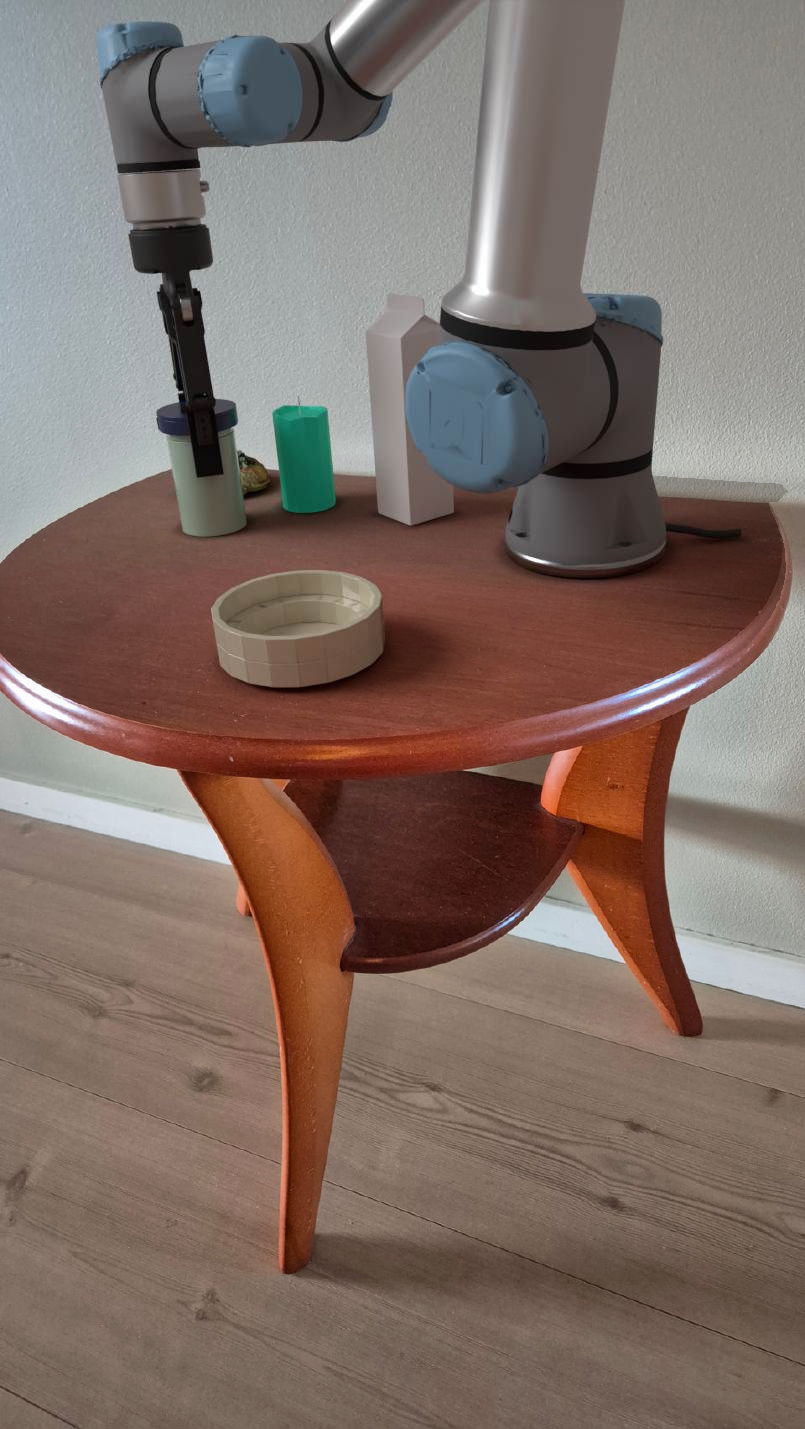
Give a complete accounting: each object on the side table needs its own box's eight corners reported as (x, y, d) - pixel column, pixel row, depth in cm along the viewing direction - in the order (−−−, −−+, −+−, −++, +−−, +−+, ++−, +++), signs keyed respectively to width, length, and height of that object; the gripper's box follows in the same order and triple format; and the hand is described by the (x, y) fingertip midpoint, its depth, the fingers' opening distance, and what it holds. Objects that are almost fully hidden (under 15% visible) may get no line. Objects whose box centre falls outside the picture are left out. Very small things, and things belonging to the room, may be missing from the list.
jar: (258, 517, 109) (244, 412, 103) (225, 539, 104) (208, 428, 98) (204, 512, 112) (188, 409, 106) (169, 533, 106) (149, 425, 100)
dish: (410, 629, 82) (407, 578, 80) (340, 704, 72) (335, 649, 69) (271, 611, 87) (265, 563, 85) (187, 679, 76) (177, 626, 74)
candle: (272, 505, 112) (259, 397, 106) (314, 492, 116) (303, 387, 110) (304, 516, 108) (292, 405, 102) (346, 503, 112) (337, 394, 106)
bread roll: (223, 468, 126) (220, 429, 123) (290, 491, 121) (288, 451, 118) (158, 496, 118) (154, 456, 115) (227, 522, 114) (224, 481, 111)
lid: (161, 440, 98) (158, 421, 97) (155, 422, 105) (152, 404, 104) (243, 429, 100) (241, 411, 99) (232, 412, 106) (230, 395, 106)
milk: (410, 527, 104) (398, 302, 93) (377, 513, 108) (361, 297, 97) (455, 512, 107) (448, 293, 96) (421, 500, 111) (410, 289, 100)
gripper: (222, 227, 85) (256, 486, 96) (195, 216, 102) (227, 436, 114) (133, 234, 83) (178, 497, 95) (121, 221, 101) (161, 444, 112)
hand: (205, 463), depth 104 cm, fingers closed on lid, 8 cm apart
